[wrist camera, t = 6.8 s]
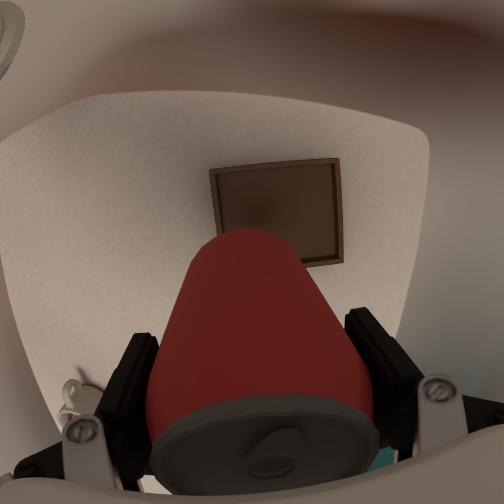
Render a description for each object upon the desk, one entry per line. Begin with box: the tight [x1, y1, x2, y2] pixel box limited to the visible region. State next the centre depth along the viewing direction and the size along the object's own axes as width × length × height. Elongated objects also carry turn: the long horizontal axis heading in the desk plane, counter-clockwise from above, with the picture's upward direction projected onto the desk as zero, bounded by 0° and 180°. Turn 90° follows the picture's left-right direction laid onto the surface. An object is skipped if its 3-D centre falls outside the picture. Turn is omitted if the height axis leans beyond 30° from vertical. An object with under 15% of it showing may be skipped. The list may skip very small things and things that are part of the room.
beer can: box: [145, 229, 380, 496], centre depth 11 cm, size 7×7×12 cm
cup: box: [58, 379, 103, 428], centre depth 37 cm, size 11×8×8 cm
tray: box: [209, 158, 344, 268], centre depth 34 cm, size 12×14×2 cm
